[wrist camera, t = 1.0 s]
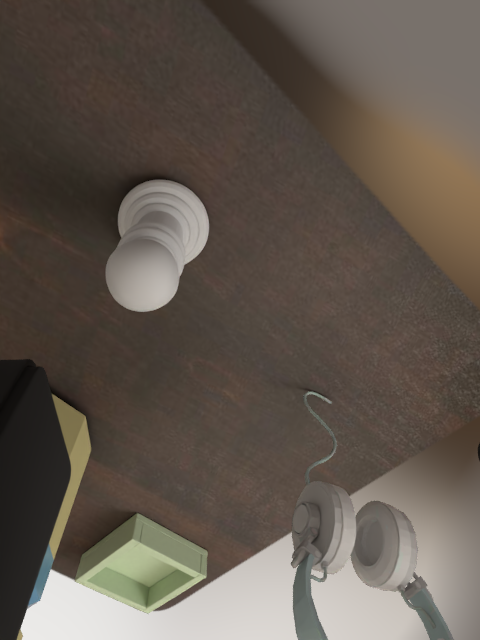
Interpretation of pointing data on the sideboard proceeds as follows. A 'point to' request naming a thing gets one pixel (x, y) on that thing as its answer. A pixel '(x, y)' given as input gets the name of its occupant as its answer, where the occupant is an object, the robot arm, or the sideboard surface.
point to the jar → (78, 453)
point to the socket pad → (142, 564)
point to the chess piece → (155, 243)
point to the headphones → (354, 550)
